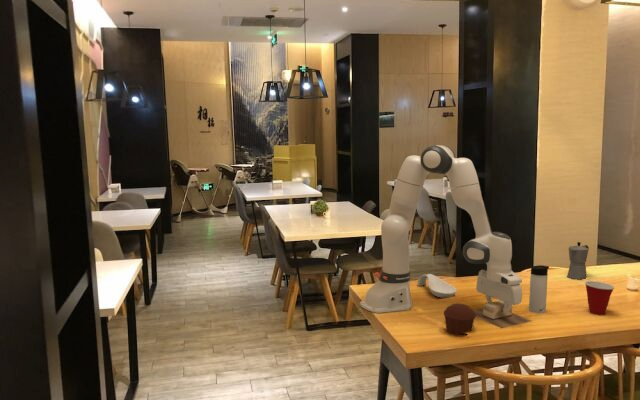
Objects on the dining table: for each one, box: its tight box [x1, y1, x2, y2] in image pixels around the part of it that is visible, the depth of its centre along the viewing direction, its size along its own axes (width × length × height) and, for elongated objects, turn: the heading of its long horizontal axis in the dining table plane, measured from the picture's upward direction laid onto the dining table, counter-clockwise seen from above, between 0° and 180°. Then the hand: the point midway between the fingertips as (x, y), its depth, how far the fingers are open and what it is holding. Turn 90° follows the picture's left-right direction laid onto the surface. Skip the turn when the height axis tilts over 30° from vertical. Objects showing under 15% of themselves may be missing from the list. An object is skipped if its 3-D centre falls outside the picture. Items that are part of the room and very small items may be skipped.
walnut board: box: [472, 307, 533, 329], centre depth 208 cm, size 16×20×2 cm
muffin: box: [443, 303, 476, 337], centre depth 196 cm, size 12×11×10 cm
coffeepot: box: [567, 241, 589, 281], centre depth 266 cm, size 15×9×18 cm, turn 126°
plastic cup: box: [584, 280, 616, 316], centre depth 215 cm, size 11×11×12 cm
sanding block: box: [482, 300, 513, 320], centre depth 208 cm, size 10×5×5 cm, turn 118°
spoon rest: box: [416, 273, 457, 299], centre depth 243 cm, size 24×12×7 cm, turn 22°
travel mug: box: [528, 264, 550, 314], centre depth 213 cm, size 6×7×20 cm
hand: (497, 309), depth 207 cm, fingers open, 6 cm apart
